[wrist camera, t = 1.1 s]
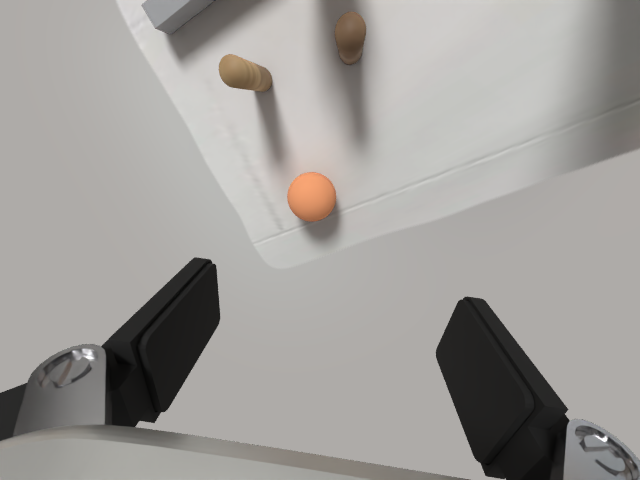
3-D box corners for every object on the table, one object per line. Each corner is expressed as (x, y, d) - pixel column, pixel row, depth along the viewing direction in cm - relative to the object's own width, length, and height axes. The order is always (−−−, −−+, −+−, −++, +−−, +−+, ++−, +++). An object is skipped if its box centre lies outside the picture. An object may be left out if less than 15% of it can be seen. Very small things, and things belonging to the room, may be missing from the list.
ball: (325, 159, 32) (320, 170, 27) (344, 201, 35) (342, 218, 29) (285, 178, 34) (272, 192, 29) (305, 217, 36) (297, 236, 31)
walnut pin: (357, 31, 26) (359, 4, 19) (365, 57, 27) (370, 40, 20) (335, 44, 27) (329, 23, 20) (344, 69, 28) (342, 57, 21)
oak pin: (265, 62, 28) (236, 48, 21) (275, 85, 29) (251, 79, 22) (247, 73, 29) (213, 63, 22) (258, 95, 30) (229, 92, 23)
